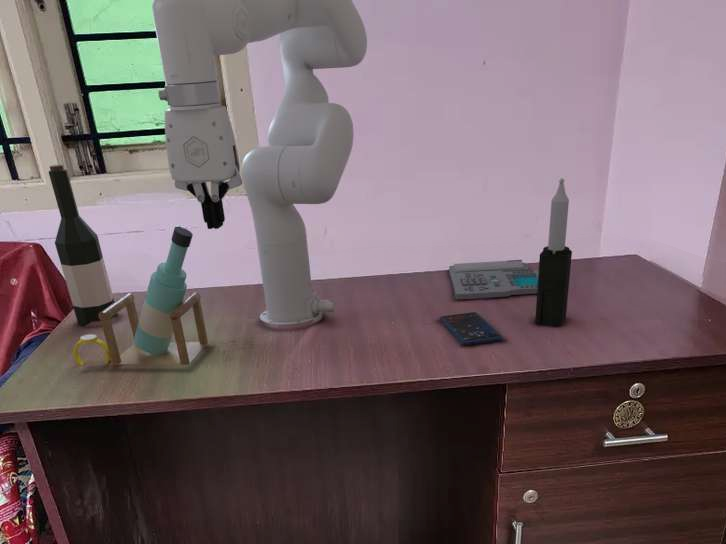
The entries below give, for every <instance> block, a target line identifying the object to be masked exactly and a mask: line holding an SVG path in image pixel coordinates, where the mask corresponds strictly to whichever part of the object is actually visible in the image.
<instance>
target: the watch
mask: <svg viewBox="0 0 726 544" xmlns="http://www.w3.org/2000/svg"><path fill="white" fill-rule="evenodd" d="M93 343H95V344H96V345H99V346H100V347H101V348H102V349H103V350H104V352H105V355H106V361H105V364H110V361H111V357H110V353H109V349H108V346H107V343H106V342H105V341H103V340H102V339H100V338H98V336H97V335H96V334H92V333H91V334H90V333H88V334H83V335H81V336H80V338H79V340H78V341H77V342H76V343H75V345H74V348H73V358H74V360H75V362H76V363H77V365H79V366H83V365H84V363H85V362H84V361H83V359H82V358H81V356H80V354H79V347H80V345H81V344H93Z"/></svg>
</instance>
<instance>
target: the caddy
mask: <svg viewBox="0 0 726 544" xmlns="http://www.w3.org/2000/svg"><path fill="white" fill-rule="evenodd" d="M134 300H135V296H134V294H132V293H130V292H127V293H126V294H124V295H123V296H122V297H119V298H118V299H117V300H116V301H114V303H113V304H112V305H110V306H109V307H107V308H106V309H104V310H103V311H102V312H100V313H99V315H98V317H99V319H100V320H101V321H100V324H101V327H102V331H103V334H104V335H103V336H104V338H105V343H106V345H107V346H108V349H109V353H110V357H111V358H110V361H111V363H110V365H146V366H147V365H149V366H150V365H152V366H153V365H154V366H155V365H156V366H157V365H160V366H161V365H162V366H164V365H165V366H166V365H167V366H168V365H169V366H170V365H172V366H174V365H177V366H179V365H181V366H182V365H183V366H185V365H186V366H189V365H190V364H191V363H192V362H193V360H194V359H195V358H196V357H197V356H199V354H200V353H201V352H202V351H203V350H204V349H205V348H206V347H207V346H208V345H209V343H210V341H209V340H208V334H207V330H206V323H205V319H204V314H203V309H202V303H201V295H200V293H199V292H192V294H190V295H189V296H188V297H186V298H185V299H183V302H182V303H181V304H180V305H179V306H177V307H176V308H175V309H174V310H173V311H172V312H170V314H169V317H170V319H171V322H172V326H173V331H174V332H173V336H174V340H175V341H170V344H169V347H168V350H167V352H166V353H165V354H161V355H156V354H151V353H147V352H145V351H143V350H141V349H140V348H138V347H137V346H136V345H135V343H134V342H133V344H132V345H131V346H129V347H128V348H127V349H126V350H125V351H123V352H122V353H121V354H120V351H119V347H118V344H117V343H118V342H117V339H116V336H115V332H114V328H113V325H112V320H111V318H113V317H112V316H113V315H115V314H116V313H117V314H118V313H119V312H120V311H122V310H123V309H125V308H126V312H127V317H128V321H129V324H130V329H131V334H132V336H133V338H134V337H135V333H136V330H137V326H138V321H139V317H138V312H137V309H136V308H137V307H136V304H135V301H134ZM190 309H192V311H193V317H194V321H195V326H196V332H197V336H198V341H186V338H185V333H184V328H183V323H182V319H181V318H182V316H184V314H186V313H187V312H188V311H190Z"/></svg>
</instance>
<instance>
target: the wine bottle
mask: <svg viewBox="0 0 726 544" xmlns="http://www.w3.org/2000/svg"><path fill="white" fill-rule="evenodd" d="M48 177H49V179H50V183H51V186H52V190H53V193H54V198H55V201H56V204H57V207H58V210H59V215H60V222H59V225H58V229H57V233H56V236H55V241H54V246H55V249H56V252H57V256H58V259H59V262H60V266H61V270H62V273H63V276H64V279H65V284H66V286H67V287H66V288H67V290H68V293H69V297H70V301H71V304H72V307H73V311H74V315H75V318H76V321H77V325H78V326H79V327H86V326H88V325H89V324H90V323H92V322H101V320H100V319H99V317H98V315H99V313H100V312H102V311H103V310H104V309H106V308H107V307H109V306H110V305H112V304H113V303H114V302H115V298H114V295H113V291H112V288H111V282H110V279H109V275H108V272H107V267H106V264H105V259H104V255H103V252H102V248H101V243H100V240H99V237H98V234H97V233H96V232H95V231H94V230H93V229H92V227H90V226H89V224H88V223H87V222H86V221H85V220H84V219H83V218H82V216H80V213H79V210H78V206H77V202H76V198H75V194H74V191H73V187H72V184H71V179H70V175H69V173H68V169H67V168H65V167H64V164H54V165H50V166H49V170H48ZM111 318H119V314H118V313H116V314H115V315H113V316H112V317H111Z"/></svg>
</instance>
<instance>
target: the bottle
mask: <svg viewBox="0 0 726 544" xmlns="http://www.w3.org/2000/svg"><path fill="white" fill-rule="evenodd" d="M193 236H194V235H193V233H192V231H190V230H188V229H187V228H185V227H181V226H175V227H174V229H173V232H172V235H171V243H170V248H169V250H168V255H167V258H166V262H159V263H158V265H157V268H156V270H155V271H154V272H152V273H151V276H150V278H149V283H148V286H147V289H146V293H145V297H144V299H143V304H142V306H141V310H140V314H139V317H138V320H139V321H138V326H137V330H136V333H135V337H133V344H134V343H135V345H136V346H137V347H138V348H140V349H141V350H143V351H145V352H147V353H151V354H156V355H161V354H165V353H166V352H167V350H168V347H169V344H170V342H172V341H171V340H172V338H173V336H174V331H173V326H172V322H171V319H170V317H169V314H170V312H172V311H173V310H174V309H175V308H176V307H177V306H179V305H180V304H181V303H182V302H183V301H184V298H185V295H186V291H187V288H188V285H187V283H186V279H187V272H186V271H185V270H184V269H183V265H184V262H185V258H186V255H187V252H188V249H189V247H190V246H191V242H192V239H193Z"/></svg>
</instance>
